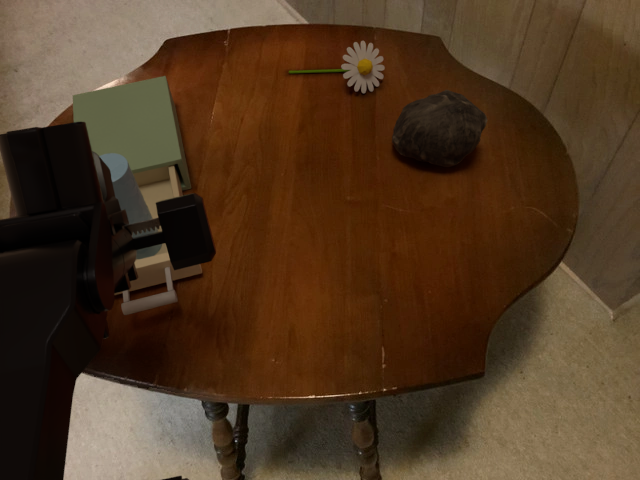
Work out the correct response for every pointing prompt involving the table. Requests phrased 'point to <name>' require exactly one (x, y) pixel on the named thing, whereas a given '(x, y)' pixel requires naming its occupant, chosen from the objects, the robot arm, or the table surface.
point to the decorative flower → (358, 67)
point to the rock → (439, 129)
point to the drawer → (159, 267)
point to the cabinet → (135, 125)
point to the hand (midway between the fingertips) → (120, 238)
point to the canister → (130, 197)
